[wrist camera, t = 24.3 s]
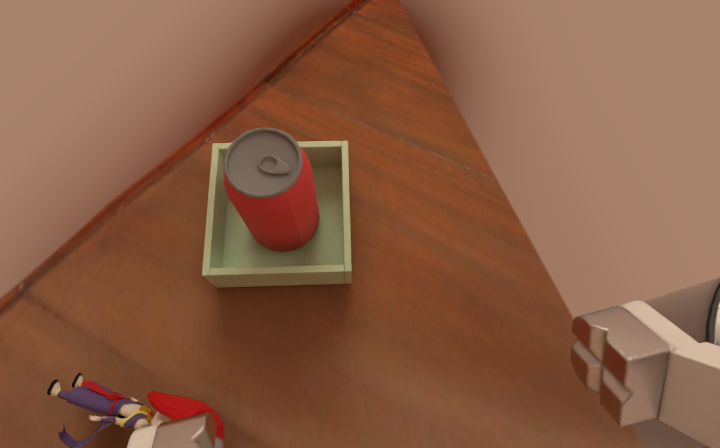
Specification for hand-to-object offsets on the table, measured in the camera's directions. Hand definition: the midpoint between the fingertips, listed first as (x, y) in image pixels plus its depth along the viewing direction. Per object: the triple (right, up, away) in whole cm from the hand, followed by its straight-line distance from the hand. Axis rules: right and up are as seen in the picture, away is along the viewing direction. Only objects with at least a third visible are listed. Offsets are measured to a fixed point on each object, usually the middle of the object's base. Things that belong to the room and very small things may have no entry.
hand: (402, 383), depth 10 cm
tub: (-8, +4, +34) cm, 36 cm away
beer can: (-8, +4, +34) cm, 35 cm away
